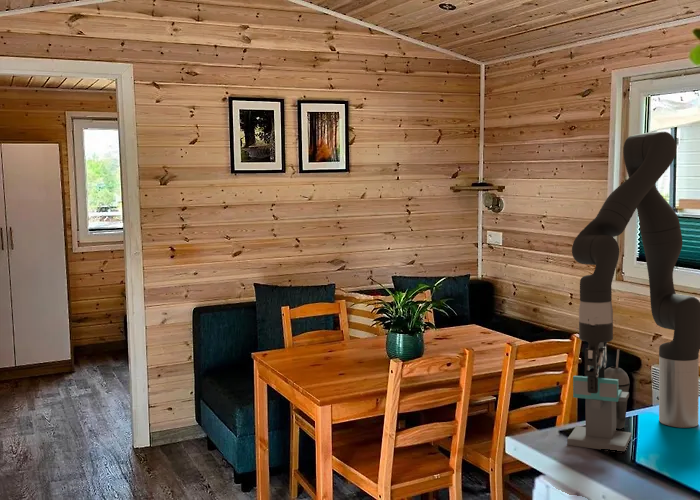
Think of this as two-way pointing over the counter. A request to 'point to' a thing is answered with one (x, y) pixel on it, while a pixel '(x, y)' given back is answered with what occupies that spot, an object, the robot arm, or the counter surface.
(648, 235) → the robot arm
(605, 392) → the teal c-shaped bracket
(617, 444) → the stand
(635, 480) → the counter surface
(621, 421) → the beverage cup
